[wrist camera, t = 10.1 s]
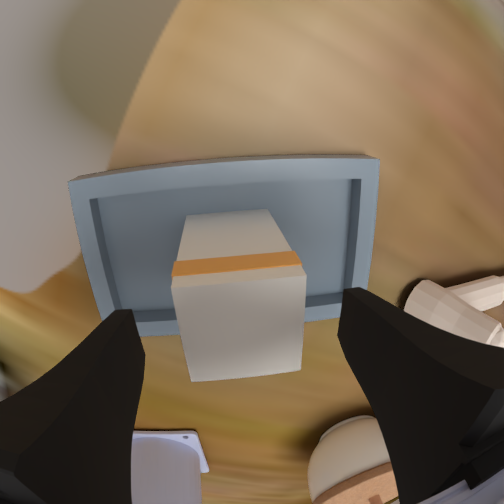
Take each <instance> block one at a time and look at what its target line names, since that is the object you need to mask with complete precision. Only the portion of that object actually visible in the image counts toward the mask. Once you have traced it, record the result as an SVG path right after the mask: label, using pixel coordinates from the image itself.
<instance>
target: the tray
mask: <svg viewBox="0 0 504 504" xmlns="http://www.w3.org/2000/svg"><path fill="white" fill-rule="evenodd" d="M379 167H380V159H377V158H374V157H371V156H368V155H337V154H312V155H270V156H248V157H231V158H217V159H204V160H193V161H183V162H173V163H164V164H155V165H147V166H139V167H132V168H125V169H118V170H111V171H105V172H99V173H93V174H87V175H82V176H78V177H76V178H74V179H72V180H70V181H69V182H68V186H69V192H70V198H71V204H72V209H73V214H74V218H75V223H76V228H77V233H78V237H79V241H80V246H81V250H82V254H83V258H84V262H85V266H86V269H87V273H88V277H89V280H90V284H91V287H92V290H93V294H94V297H95V300H96V304H97V307H98V310H99V313H100V316H101V319H102V321H103V320H105V319H106V318H107V317H108V316H109V315H110V314H111V313H112V312H113V311H114V310H118V309H132V311H133V315H134V318H135V322H136V326H137V329H138V332H139V336H140V337H142V336H163V335H180V331H179V326H178V322H177V317H176V312H175V307H174V302H173V297H172V291H171V285H172V276H171V274H172V270H173V265H174V261H176V260H177V256H178V251H179V246H180V242H181V237H182V233H183V229H184V224H185V220H186V216H187V215H197V214H208V213H220V212H232V211H245V210H258V209H268V211H269V212H270V214H271V216H272V217H273V219H274V221H275V222H276V224H277V226H278V227H279V229H280V231H281V232H282V234H283V236H284V237H285V239H286V241H287V243H288V244H289V246H290V248H291V249H292V251H295V252H296V254H297V256H298V257H299V259H300V261H301V262H302V268H303V270H304V272H305V273H306V275H307V279H306V299H305V316H304V322H310V321H317V320H324V319H331V318H338V317H340V313H341V306H342V298H343V289H347V288H354V287H361V288H363V289H365V290H367V285H368V278H369V271H370V264H371V257H372V249H373V240H374V231H375V221H376V210H377V198H378V184H379Z"/></svg>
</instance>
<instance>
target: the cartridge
mask: <svg viewBox="0 0 504 504" xmlns="http://www.w3.org/2000/svg"><path fill="white" fill-rule="evenodd" d="M171 276H172V285H171V291H172V297H173V302H174V307H175V312H176V317H177V322H178V326H179V331H180V336H181V340H182V345H183V349H184V353H185V358H186V362H187V366H188V370H189V374H190V378H191V382H199V381H213V380H225V379H236V378H245V377H254V376H263V375H270V374H278V373H285V372H292V371H298V370H301V359H302V346H303V332H304V316H305V299H306V279H307V275H306V273H305V272H304V270H303V268H302V262H301V261H300V259H299V257H298V256H297V254H296V252H295V251H292V249H291V248H290V246H289V244H288V243H287V241H286V239H285V237H284V236H283V234H282V232H281V231H280V229H279V227H278V226H277V224H276V222H275V221H274V219H273V217H272V216H271V214H270V212H269V211H268V209H258V210H245V211H232V212H220V213H208V214H197V215H187V216H186V220H185V224H184V229H183V233H182V237H181V242H180V246H179V251H178V256H177V260H176V261H174V265H173V270H172V274H171Z"/></svg>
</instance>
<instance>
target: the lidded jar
mask: <svg viewBox="0 0 504 504" xmlns="http://www.w3.org/2000/svg"><path fill="white" fill-rule="evenodd" d="M308 486H309V492H310V497H311V500H312V504H383V503H385V502H387V501H389V500H391V499H393V498H395V497H397V496H398V491H397V486H396V481H395V476H394V473H393V469H392V465H391V461H390V457H389V454H388V451H387V448H386V445H385V441H384V438H383V435H382V432H381V430H380V427H379V424H378V421H377V419H376V418H374V417H373V416H369V415H361V416H356V417H352V418H349V419H346V420H343V421H341V422H339V423H337V424H335V425H334V426H332V427H331V428H329V429H328V430H327V431H326V432H325V433H324V434H323V435H322V436H321V438H320V440H319V443H318V445H317V446H316V448H315V449H314V451H313V453H312V455H311V458H310V461H309V465H308Z"/></svg>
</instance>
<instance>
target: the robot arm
mask: <svg viewBox="0 0 504 504" xmlns="http://www.w3.org/2000/svg"><path fill="white" fill-rule="evenodd" d="M337 336H338V338H339V341H340V344H341V347H342V350H343V352H344V355H345V358H346V360H347V362H348V364H349V365H350V367H351V369H352V371H353V373H354V375H355V377H356V379H357V380H358V382H359V384H360V386H361V388H362V390H363V392H364V394H365V395H366V397H367V399H368V401H369V403H370V405H371V407H372V409H373V411H374V414H375V416H376V419H377V421H378V424H379V427H380V430H381V432H382V435H383V438H384V441H385V445H386V448H387V451H388V454H389V457H390V461H391V465H392V469H393V473H394V476H395V481H396V486H397V491H398V496H399V501H400V504H504V348H503V347H498V346H493V345H489V344H484V343H480V342H477V341H474V340H470V339H467V338H464V337H461V336H458V335H455V334H452V333H450V332H447V331H445V330H442V329H440V328H437V327H435V326H433V325H431V324H429V323H427V322H424V321H422V320H420V319H418V318H416V317H414V316H413V315H411V314H409V313H407V312H405V311H403V310H401V309H400V308H398V307H396V306H394V305H392V304H391V303H389V302H387V301H385V300H384V299H382V298H380V297H378V296H376V295H375V294H373V293H371V292H369V291H367V290H365V289H363V288H361V287H354V288H347V289H343V298H342V306H341V313H340V321H339V328H338V334H337ZM144 366H145V352H144V349H143V346H142V343H141V339H140V336H139V332H138V329H137V326H136V322H135V318H134V315H133V311H132V309H118V310H114V311H113V312H112V313H111V314H110V315H109V316H108V317H107V318H106V319H105V320H103V321H102V322H101V323H100V324H99V325H98V326H97V327H96V328H95V329H94V330H93V331H92V332H91V333H90V334H89V335H88V336H87V337H86V338H85V339H84V340H83V341H82V342H81V343H80V344H79V345H78V346H77V347H76V348H75V349H74V350H73V351H71V352H70V353H69V354H68V355H67V356H66V357H65V358H64V359H63V360H62V361H60V362H59V363H58V364H57V365H56V366H54V367H53V368H52V369H51V370H49V371H48V372H47V373H45V374H44V375H43V376H41V377H40V378H39V379H37V380H36V381H34V382H33V383H31V384H30V385H28V386H27V387H25V388H23V389H22V390H20V391H19V392H17V393H16V394H14V395H12V396H10V397H8V398H7V399H5V400H3V401H1V402H0V504H202V495H201V473H207V472H209V466H208V464H207V461H206V458H205V455H204V452H203V449H202V446H201V443H200V440H199V437H198V434H197V432H195V431H133V430H134V425H135V420H136V414H137V409H138V404H139V399H140V394H141V389H142V384H143V379H144Z"/></svg>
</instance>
